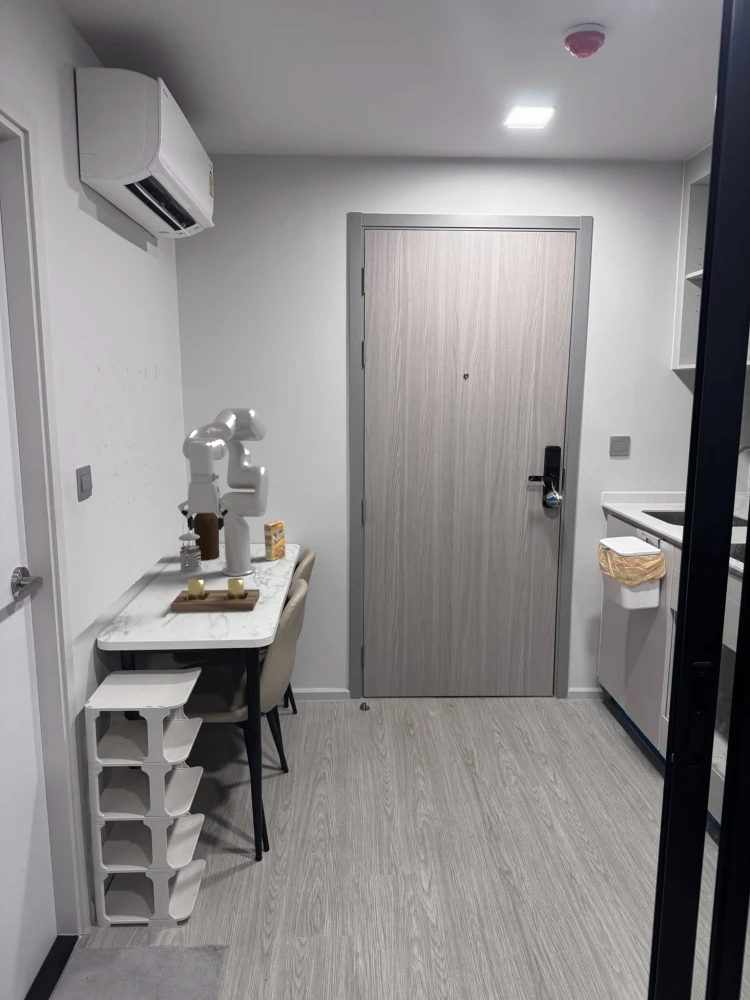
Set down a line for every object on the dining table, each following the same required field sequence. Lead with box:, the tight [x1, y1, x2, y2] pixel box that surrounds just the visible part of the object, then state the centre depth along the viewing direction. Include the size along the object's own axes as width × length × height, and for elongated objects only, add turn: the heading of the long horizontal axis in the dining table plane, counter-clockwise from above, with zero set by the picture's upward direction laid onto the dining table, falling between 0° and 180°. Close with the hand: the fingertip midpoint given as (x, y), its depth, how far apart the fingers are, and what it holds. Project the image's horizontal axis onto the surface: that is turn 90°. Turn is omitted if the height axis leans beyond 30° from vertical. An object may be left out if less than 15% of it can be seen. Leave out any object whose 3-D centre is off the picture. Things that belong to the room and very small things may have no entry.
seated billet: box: [227, 577, 245, 600], centre depth 215 cm, size 5×5×8 cm
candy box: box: [263, 520, 287, 562], centre depth 275 cm, size 9×4×15 cm, turn 150°
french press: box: [178, 508, 205, 576], centre depth 255 cm, size 10×12×25 cm
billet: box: [187, 577, 205, 600], centre depth 215 cm, size 5×5×8 cm
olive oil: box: [193, 513, 220, 561], centre depth 276 cm, size 11×11×25 cm
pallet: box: [170, 588, 260, 613], centre depth 216 cm, size 14×26×4 cm, turn 92°
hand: (206, 529), depth 219 cm, fingers open, 9 cm apart
